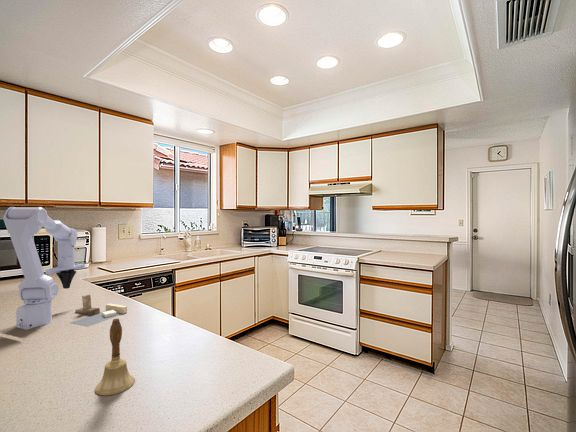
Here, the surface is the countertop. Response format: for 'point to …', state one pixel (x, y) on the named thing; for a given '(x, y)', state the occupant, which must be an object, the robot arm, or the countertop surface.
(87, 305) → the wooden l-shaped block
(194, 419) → the countertop surface
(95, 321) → the board
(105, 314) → the tile
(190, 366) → the countertop surface
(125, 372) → the hand bell
